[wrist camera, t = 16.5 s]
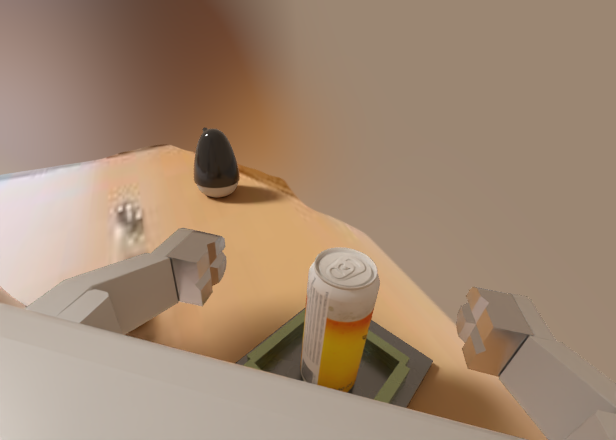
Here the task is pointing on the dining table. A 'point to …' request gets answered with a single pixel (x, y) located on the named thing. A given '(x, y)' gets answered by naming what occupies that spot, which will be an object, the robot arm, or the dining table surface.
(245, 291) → the dining table surface
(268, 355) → the green and grey tray
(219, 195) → the dark grey egg shape
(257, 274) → the dining table surface
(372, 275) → the beer can
